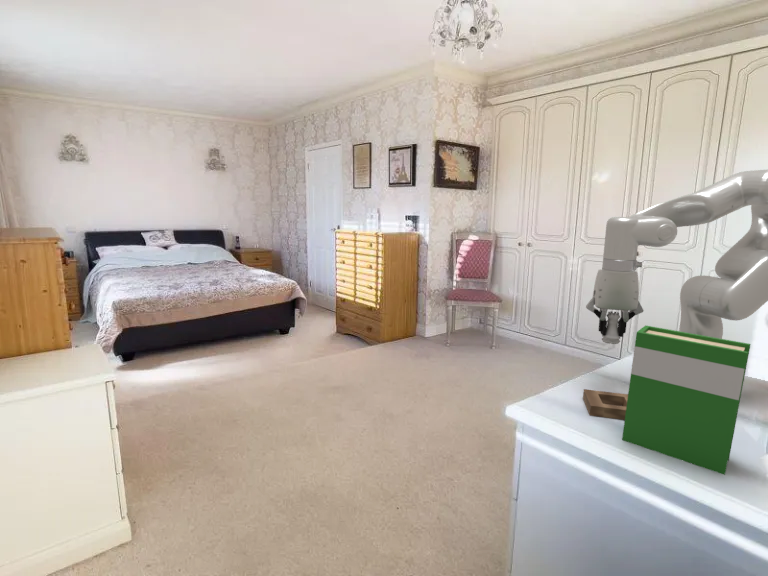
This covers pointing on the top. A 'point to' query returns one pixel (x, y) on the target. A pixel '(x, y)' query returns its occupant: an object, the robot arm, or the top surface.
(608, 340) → the rook chess piece
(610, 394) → the socket board
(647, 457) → the top surface
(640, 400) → the hardback book
